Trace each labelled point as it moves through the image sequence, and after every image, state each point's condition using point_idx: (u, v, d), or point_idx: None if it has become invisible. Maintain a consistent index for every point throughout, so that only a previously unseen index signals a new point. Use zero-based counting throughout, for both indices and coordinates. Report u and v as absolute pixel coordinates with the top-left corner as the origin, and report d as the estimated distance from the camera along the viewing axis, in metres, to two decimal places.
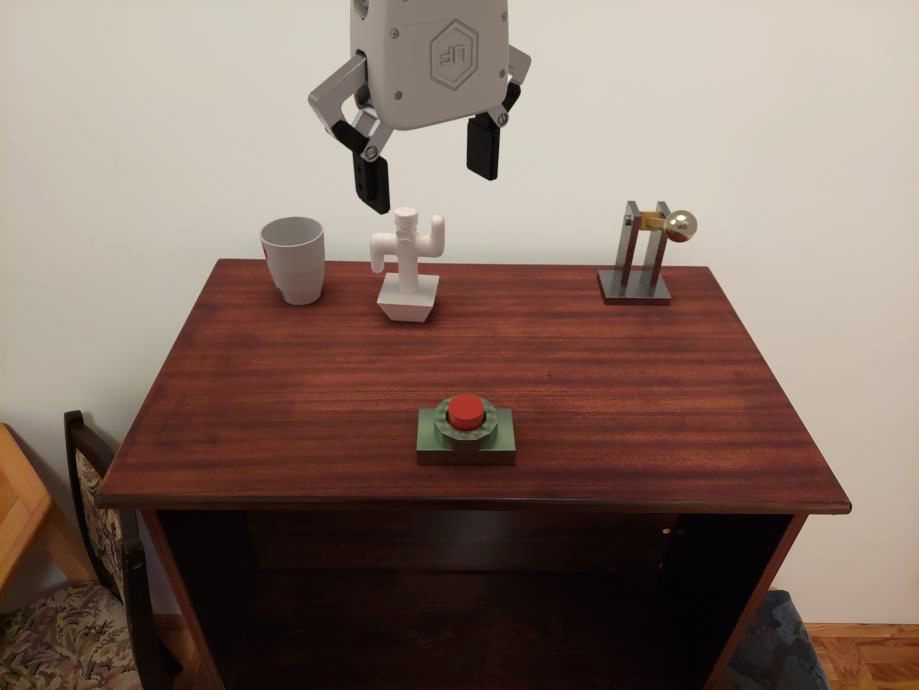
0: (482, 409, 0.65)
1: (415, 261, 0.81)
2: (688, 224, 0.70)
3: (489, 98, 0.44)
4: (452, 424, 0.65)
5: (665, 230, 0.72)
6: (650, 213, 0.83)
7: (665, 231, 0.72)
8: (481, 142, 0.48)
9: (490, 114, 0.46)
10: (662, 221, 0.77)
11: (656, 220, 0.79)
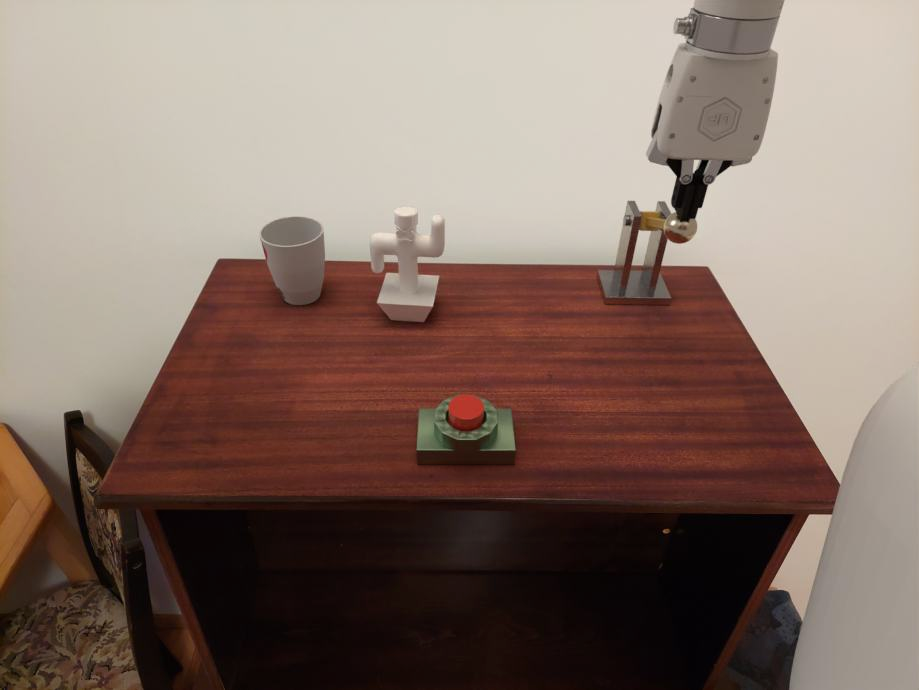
0: (482, 409, 0.65)
1: (415, 261, 0.81)
2: (688, 225, 0.70)
3: (741, 151, 0.64)
4: (452, 424, 0.65)
5: (665, 231, 0.72)
6: (650, 213, 0.83)
7: (665, 232, 0.72)
8: None
9: (709, 167, 0.66)
10: (662, 222, 0.77)
11: (656, 220, 0.79)
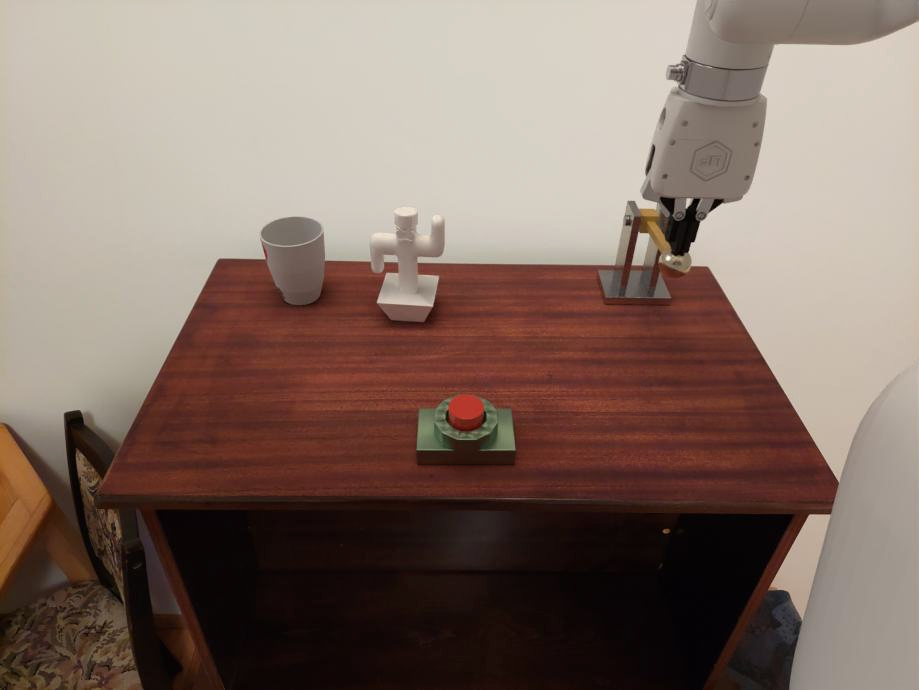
0: (482, 409, 0.65)
1: (415, 261, 0.81)
2: (682, 266, 0.72)
3: (731, 190, 0.66)
4: (452, 424, 0.65)
5: (659, 266, 0.74)
6: (650, 217, 0.83)
7: (659, 267, 0.74)
8: None
9: (701, 205, 0.68)
10: (659, 243, 0.78)
11: (654, 235, 0.80)
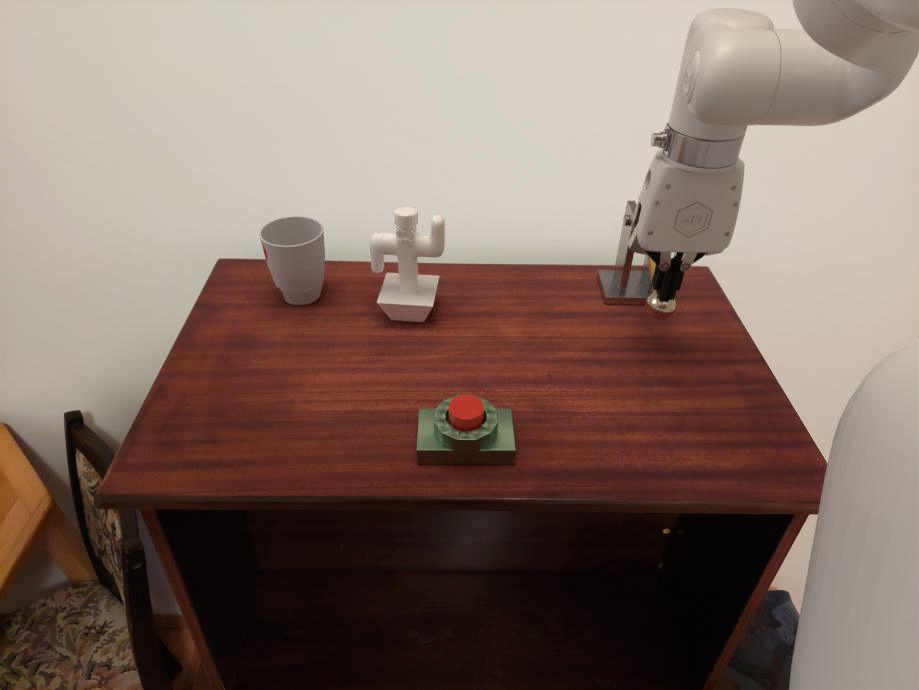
0: (482, 409, 0.65)
1: (415, 261, 0.81)
2: (665, 316, 0.78)
3: (713, 246, 0.70)
4: (452, 424, 0.65)
5: None
6: None
7: None
8: None
9: (685, 257, 0.73)
10: (651, 271, 0.81)
11: None
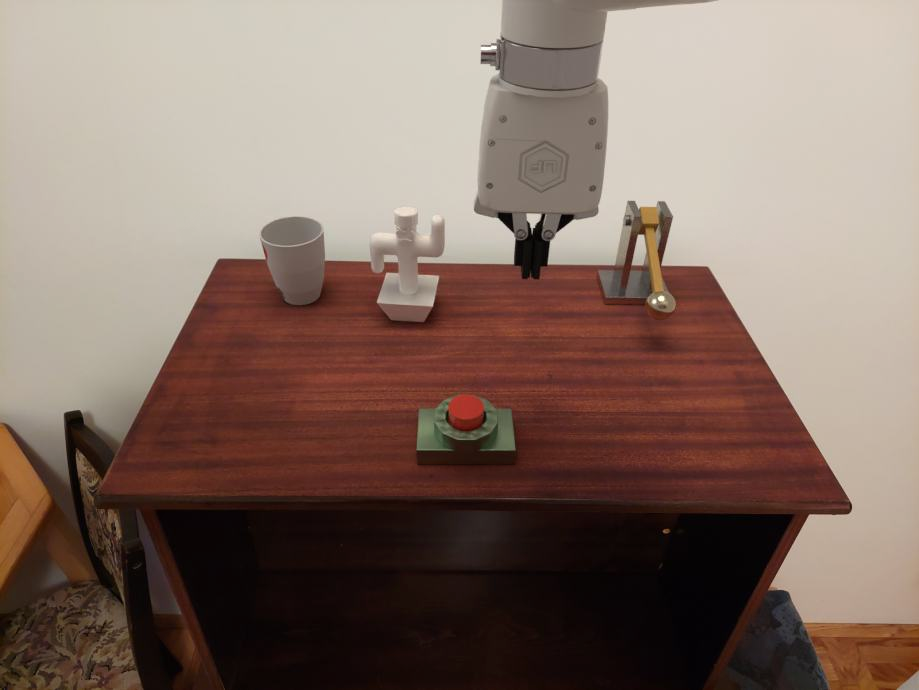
0: (482, 409, 0.65)
1: (415, 261, 0.81)
2: (665, 316, 0.78)
3: (576, 204, 0.52)
4: (452, 424, 0.65)
5: None
6: (650, 224, 0.83)
7: None
8: (533, 247, 0.58)
9: (545, 221, 0.55)
10: (651, 271, 0.81)
11: (649, 255, 0.82)
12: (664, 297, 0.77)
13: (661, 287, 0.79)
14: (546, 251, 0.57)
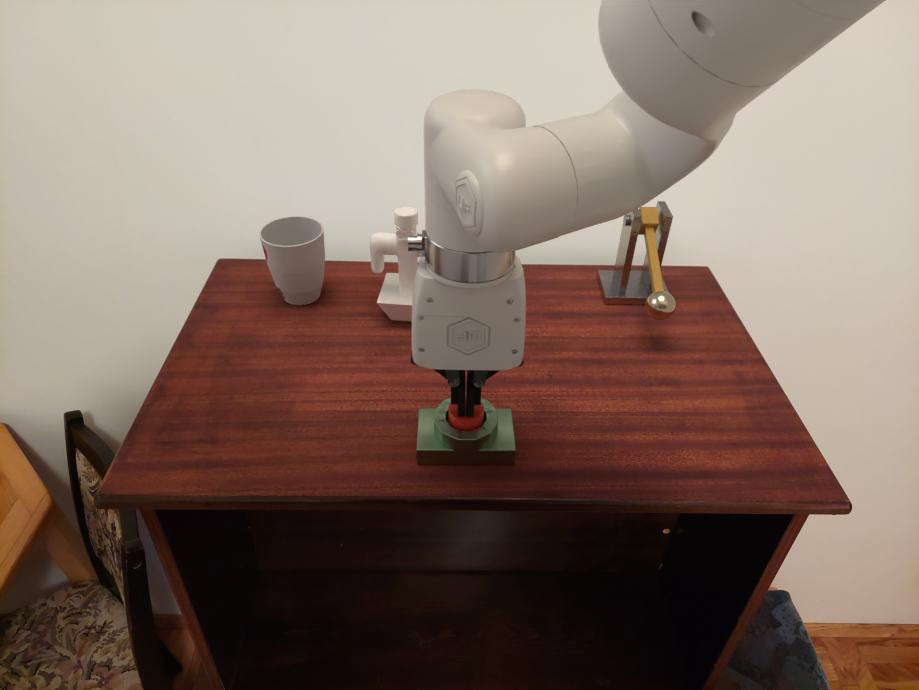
0: (482, 411, 0.65)
1: (415, 261, 0.81)
2: (665, 316, 0.78)
3: (500, 364, 0.58)
4: (452, 426, 0.65)
5: None
6: (650, 224, 0.83)
7: None
8: None
9: (475, 372, 0.60)
10: (651, 271, 0.81)
11: (649, 255, 0.82)
12: (664, 297, 0.77)
13: (661, 287, 0.79)
14: (478, 393, 0.63)
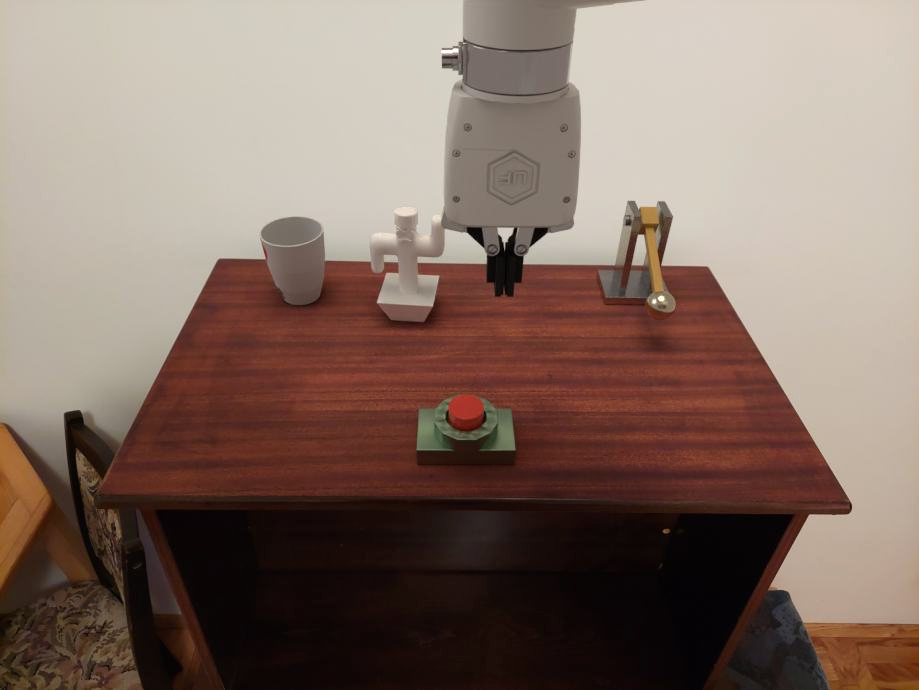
0: (482, 409, 0.65)
1: (415, 261, 0.81)
2: (665, 316, 0.78)
3: (549, 217, 0.49)
4: (452, 424, 0.65)
5: None
6: (650, 224, 0.83)
7: None
8: (505, 262, 0.54)
9: (518, 235, 0.51)
10: (651, 271, 0.81)
11: (649, 255, 0.82)
12: (664, 297, 0.77)
13: (661, 287, 0.79)
14: (520, 267, 0.54)
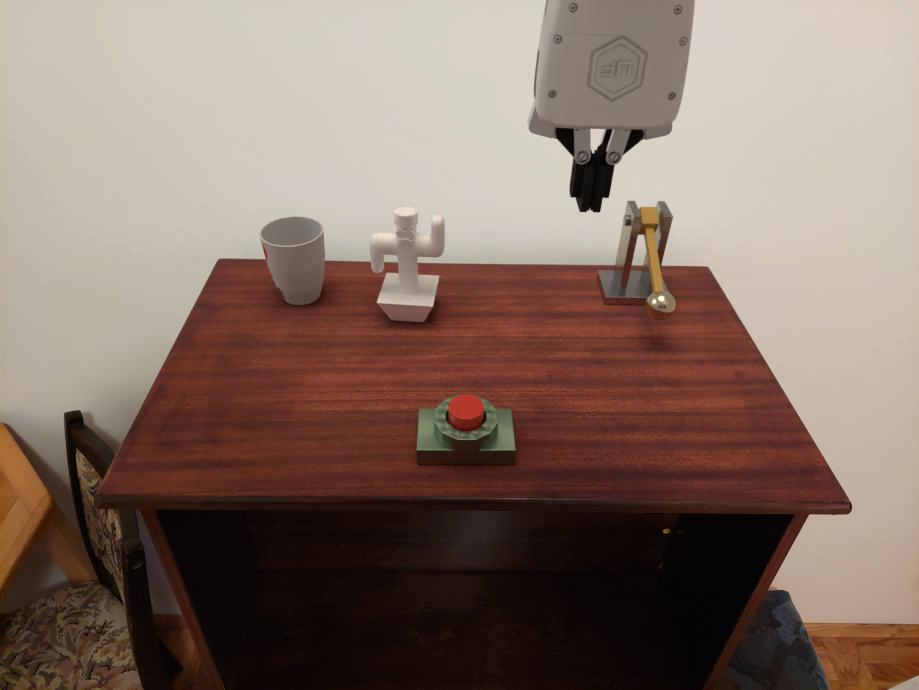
0: (482, 409, 0.65)
1: (415, 261, 0.81)
2: (665, 316, 0.78)
3: (651, 116, 0.45)
4: (452, 424, 0.65)
5: None
6: (650, 224, 0.83)
7: None
8: None
9: (612, 140, 0.48)
10: (651, 271, 0.81)
11: (649, 255, 0.82)
12: (664, 297, 0.77)
13: (661, 287, 0.79)
14: (609, 178, 0.50)
